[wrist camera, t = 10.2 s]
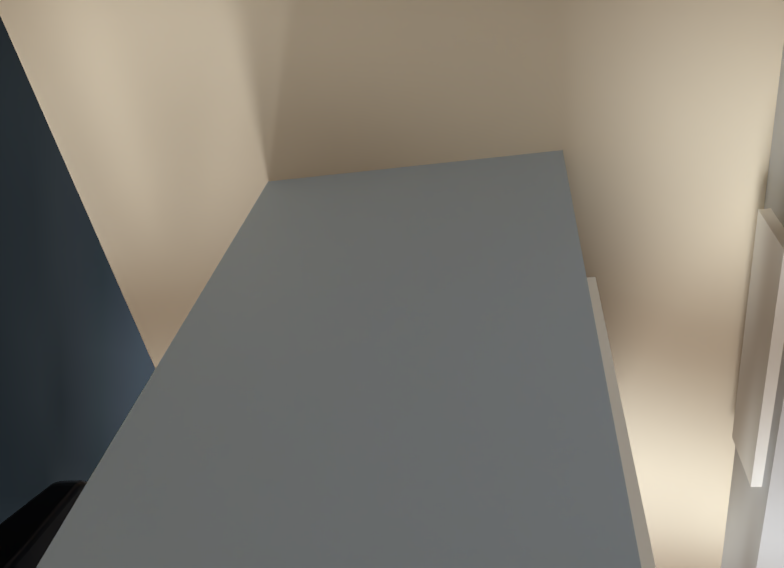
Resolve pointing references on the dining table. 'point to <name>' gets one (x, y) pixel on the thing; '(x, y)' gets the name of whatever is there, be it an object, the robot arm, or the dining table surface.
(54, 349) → the dining table surface
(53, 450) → the dining table surface
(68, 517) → the block
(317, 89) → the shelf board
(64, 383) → the dining table surface
